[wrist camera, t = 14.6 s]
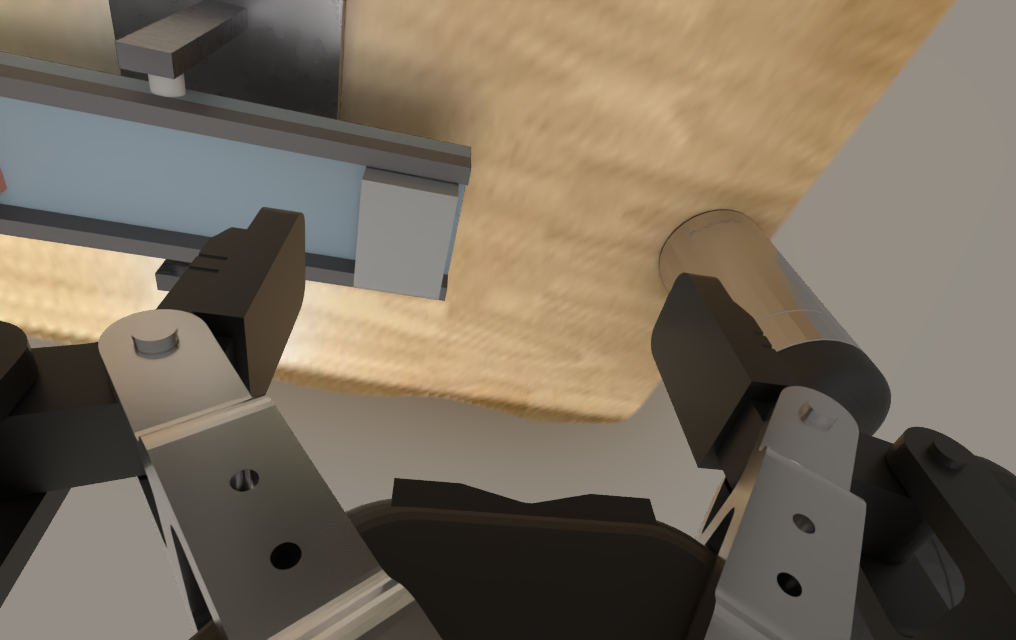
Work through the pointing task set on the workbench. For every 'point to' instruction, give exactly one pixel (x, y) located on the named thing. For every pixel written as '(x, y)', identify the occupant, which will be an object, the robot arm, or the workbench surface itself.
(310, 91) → the pivot stand
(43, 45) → the workbench surface
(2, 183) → the block
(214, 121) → the balance beam
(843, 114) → the workbench surface
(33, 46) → the workbench surface
